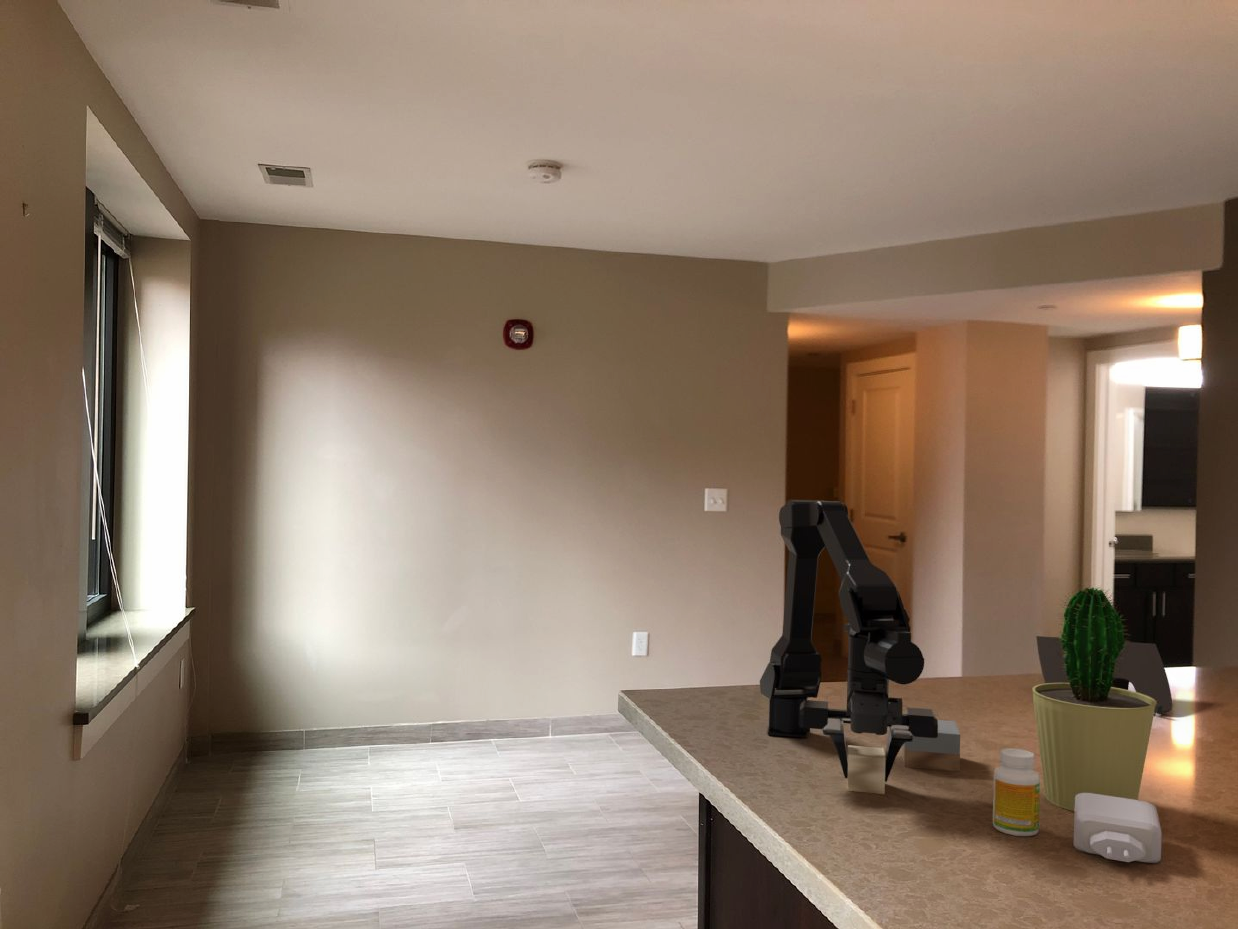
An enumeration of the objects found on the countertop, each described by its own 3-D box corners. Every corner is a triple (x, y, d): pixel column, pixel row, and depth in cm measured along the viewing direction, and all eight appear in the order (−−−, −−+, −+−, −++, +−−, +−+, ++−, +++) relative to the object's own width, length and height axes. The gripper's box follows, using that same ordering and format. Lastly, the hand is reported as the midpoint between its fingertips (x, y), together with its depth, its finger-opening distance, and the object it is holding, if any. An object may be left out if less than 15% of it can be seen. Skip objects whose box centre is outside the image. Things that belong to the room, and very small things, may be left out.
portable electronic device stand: (1044, 735, 196) (1048, 697, 192) (1032, 662, 216) (1036, 627, 212) (1175, 747, 189) (1182, 708, 186) (1151, 671, 209) (1157, 635, 205)
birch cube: (847, 790, 140) (848, 755, 140) (847, 779, 145) (847, 745, 145) (884, 794, 139) (885, 758, 139) (882, 783, 144) (883, 748, 144)
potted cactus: (1148, 831, 127) (1155, 594, 127) (1019, 806, 135) (1025, 583, 135) (1158, 798, 140) (1163, 583, 140) (1039, 777, 148) (1045, 574, 148)
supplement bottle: (1042, 839, 123) (1044, 760, 123) (996, 835, 124) (998, 756, 124) (1033, 824, 129) (1035, 748, 129) (989, 820, 130) (991, 745, 130)
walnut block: (904, 769, 152) (904, 749, 152) (901, 754, 160) (901, 736, 160) (959, 774, 151) (960, 754, 151) (953, 759, 158) (954, 740, 158)
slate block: (904, 750, 152) (904, 730, 152) (901, 736, 160) (902, 717, 160) (959, 754, 151) (960, 734, 151) (954, 740, 158) (954, 721, 158)
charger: (1072, 869, 115) (1074, 828, 128) (1164, 886, 111) (1155, 841, 124) (1073, 828, 115) (1075, 790, 128) (1165, 843, 111) (1156, 802, 124)
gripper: (799, 676, 136) (796, 791, 136) (943, 685, 132) (940, 804, 132) (802, 660, 147) (799, 767, 147) (935, 669, 143) (932, 778, 143)
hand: (865, 779), depth 142 cm, fingers closed on birch cube, 5 cm apart
